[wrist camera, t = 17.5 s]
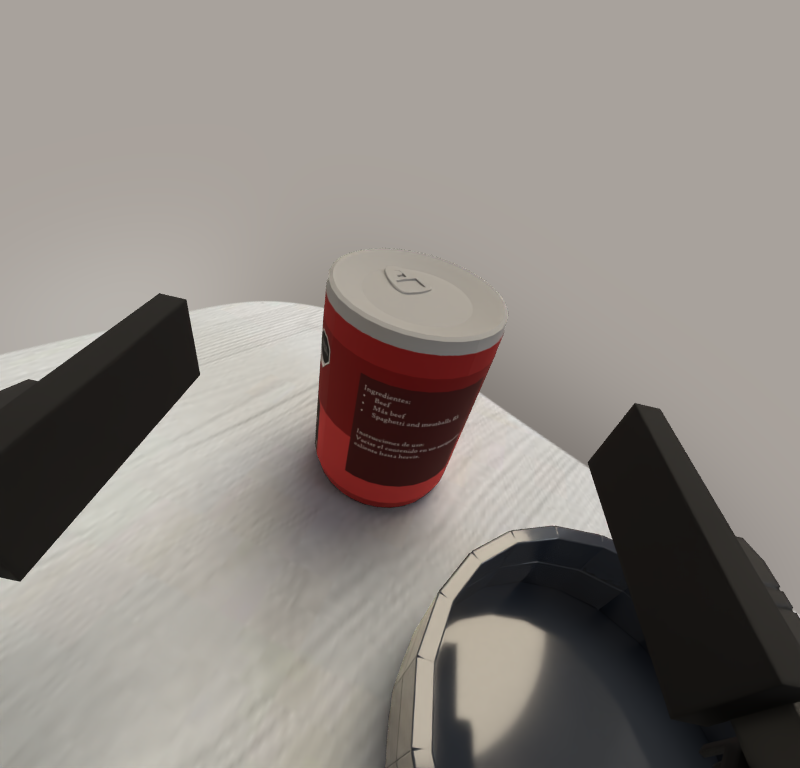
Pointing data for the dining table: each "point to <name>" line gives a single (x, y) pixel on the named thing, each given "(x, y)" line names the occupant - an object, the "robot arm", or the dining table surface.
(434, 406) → the canned food
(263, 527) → the dining table surface
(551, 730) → the dark grey round dish
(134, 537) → the dining table surface
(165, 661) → the dining table surface
